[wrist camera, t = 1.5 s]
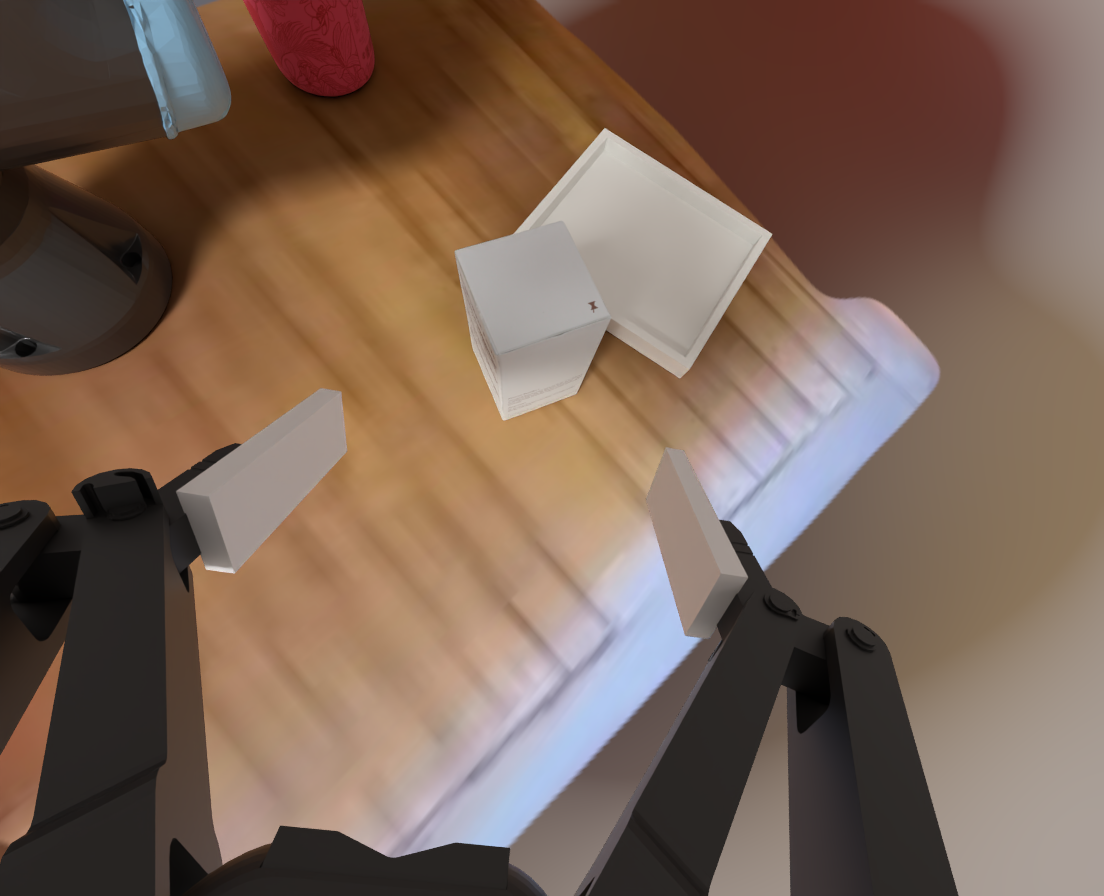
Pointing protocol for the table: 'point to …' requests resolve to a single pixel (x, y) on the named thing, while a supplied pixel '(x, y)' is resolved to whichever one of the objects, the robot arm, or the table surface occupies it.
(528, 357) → the supplement box
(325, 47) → the wine bottle
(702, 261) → the white tray
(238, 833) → the table surface
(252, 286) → the table surface
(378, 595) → the table surface
